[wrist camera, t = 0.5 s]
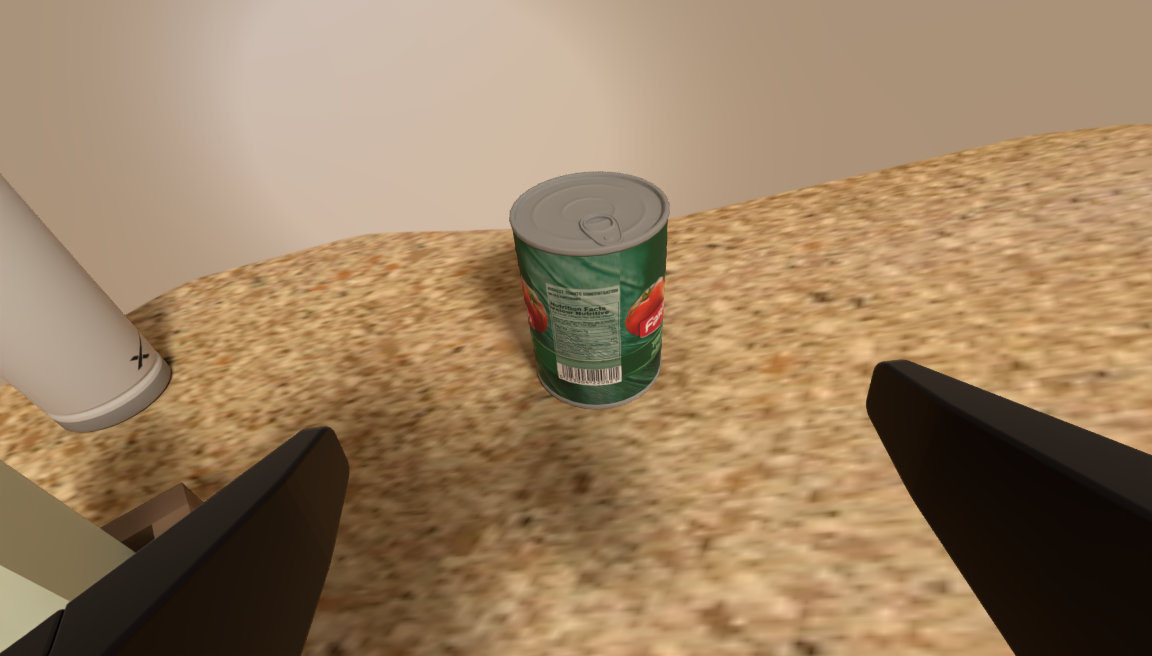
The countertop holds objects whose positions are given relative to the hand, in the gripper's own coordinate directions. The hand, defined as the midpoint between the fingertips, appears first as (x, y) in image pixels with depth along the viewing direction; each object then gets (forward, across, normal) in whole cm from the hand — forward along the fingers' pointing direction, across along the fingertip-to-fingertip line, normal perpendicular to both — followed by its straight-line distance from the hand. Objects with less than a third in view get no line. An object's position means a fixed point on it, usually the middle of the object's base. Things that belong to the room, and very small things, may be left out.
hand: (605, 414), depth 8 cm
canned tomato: (+20, -1, +13) cm, 24 cm away
